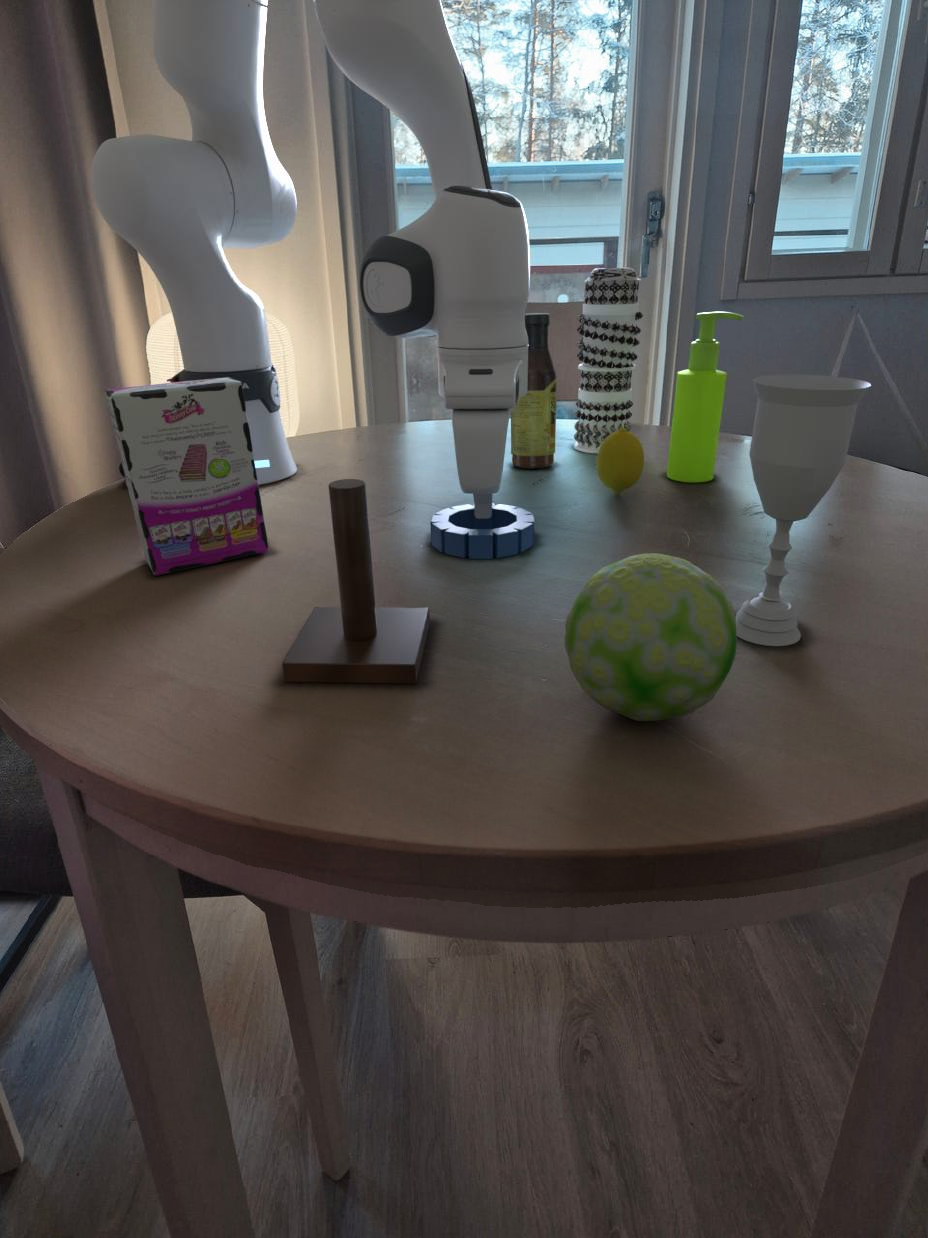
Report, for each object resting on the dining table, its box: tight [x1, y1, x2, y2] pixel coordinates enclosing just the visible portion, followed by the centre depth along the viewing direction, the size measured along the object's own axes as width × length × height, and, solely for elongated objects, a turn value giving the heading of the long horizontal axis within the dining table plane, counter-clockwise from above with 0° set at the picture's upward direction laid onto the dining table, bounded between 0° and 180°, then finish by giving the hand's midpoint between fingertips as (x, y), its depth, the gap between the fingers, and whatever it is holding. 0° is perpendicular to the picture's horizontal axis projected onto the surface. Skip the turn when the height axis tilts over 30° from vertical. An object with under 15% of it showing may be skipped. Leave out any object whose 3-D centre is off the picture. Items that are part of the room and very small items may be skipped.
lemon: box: [596, 428, 645, 495], centre depth 86 cm, size 6×6×8 cm
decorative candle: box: [573, 267, 644, 454], centre depth 105 cm, size 9×9×25 cm
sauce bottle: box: [510, 312, 558, 470], centre depth 97 cm, size 7×6×20 cm
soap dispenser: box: [666, 311, 745, 483], centre depth 90 cm, size 6×7×20 cm
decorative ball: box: [564, 552, 738, 722], centre depth 43 cm, size 10×10×10 cm
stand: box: [281, 478, 430, 685], centre depth 50 cm, size 9×9×12 cm
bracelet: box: [430, 502, 535, 560], centre depth 73 cm, size 10×10×2 cm
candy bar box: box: [104, 377, 270, 576], centre depth 67 cm, size 11×5×16 cm, turn 122°
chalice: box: [735, 374, 872, 647], centre depth 50 cm, size 7×7×18 cm
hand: (483, 512), depth 76 cm, fingers closed on bracelet, 2 cm apart
